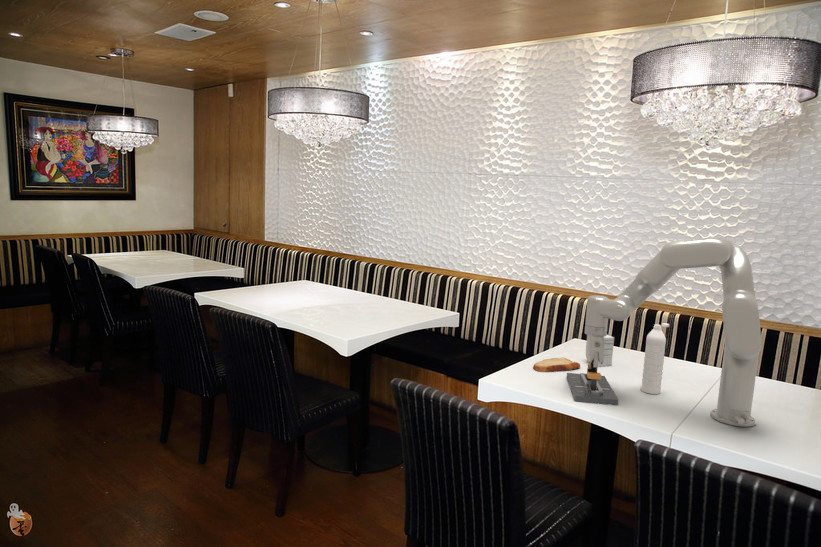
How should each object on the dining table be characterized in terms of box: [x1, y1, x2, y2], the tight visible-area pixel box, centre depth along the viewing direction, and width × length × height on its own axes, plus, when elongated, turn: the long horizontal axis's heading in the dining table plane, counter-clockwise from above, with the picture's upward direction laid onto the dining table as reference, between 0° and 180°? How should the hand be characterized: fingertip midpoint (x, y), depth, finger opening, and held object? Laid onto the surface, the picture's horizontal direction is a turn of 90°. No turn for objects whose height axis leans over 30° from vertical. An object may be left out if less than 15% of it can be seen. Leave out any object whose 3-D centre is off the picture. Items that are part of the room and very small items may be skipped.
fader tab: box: [586, 371, 602, 390], centre depth 199 cm, size 3×4×6 cm, turn 81°
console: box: [566, 372, 619, 406], centre depth 204 cm, size 26×14×3 cm, turn 171°
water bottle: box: [640, 322, 670, 395], centre depth 205 cm, size 9×6×25 cm
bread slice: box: [532, 357, 581, 373], centre depth 230 cm, size 18×18×4 cm
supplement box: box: [586, 334, 615, 368], centre depth 237 cm, size 7×7×13 cm
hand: (591, 379), depth 203 cm, fingers closed
